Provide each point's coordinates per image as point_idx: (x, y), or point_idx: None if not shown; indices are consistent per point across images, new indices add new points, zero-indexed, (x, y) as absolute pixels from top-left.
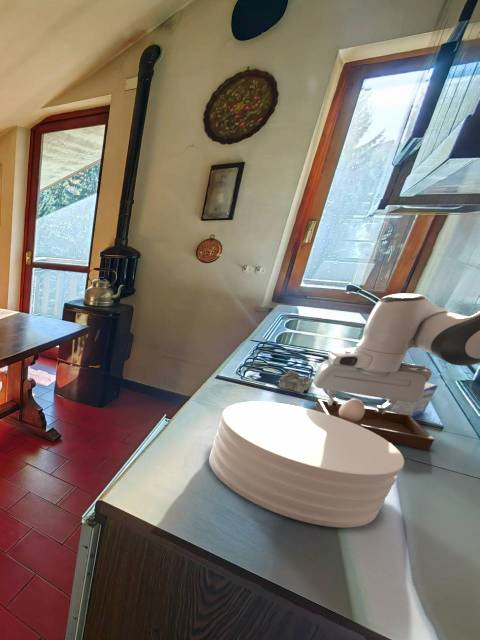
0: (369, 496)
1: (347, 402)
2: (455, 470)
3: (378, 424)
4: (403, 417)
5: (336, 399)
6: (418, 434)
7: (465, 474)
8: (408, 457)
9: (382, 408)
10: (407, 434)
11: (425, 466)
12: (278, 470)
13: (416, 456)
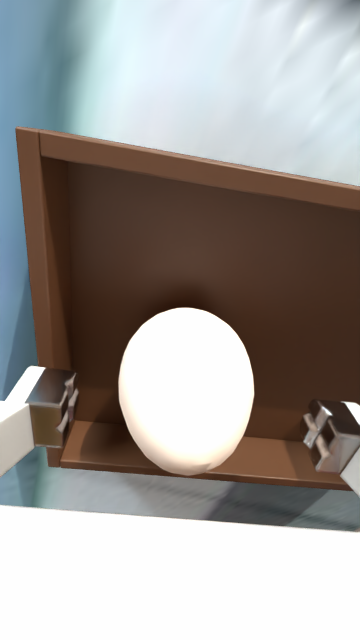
0: None
1: (132, 435)
2: (342, 518)
3: (346, 306)
4: None
5: (53, 426)
6: None
7: (351, 526)
8: (262, 500)
9: (334, 471)
10: (327, 488)
11: (274, 523)
12: None
13: (293, 489)
